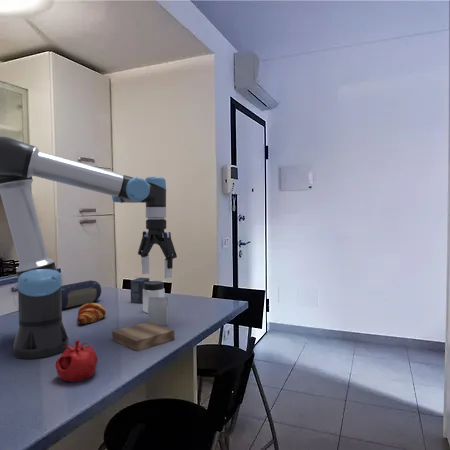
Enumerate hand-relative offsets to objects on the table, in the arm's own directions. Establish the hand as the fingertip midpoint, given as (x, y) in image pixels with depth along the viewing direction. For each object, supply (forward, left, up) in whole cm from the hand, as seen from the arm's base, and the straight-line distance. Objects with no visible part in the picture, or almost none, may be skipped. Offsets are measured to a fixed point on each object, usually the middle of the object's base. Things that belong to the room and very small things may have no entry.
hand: (156, 275), depth 142 cm
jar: (+9, +15, -18) cm, 25 cm away
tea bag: (-1, -2, -18) cm, 18 cm away
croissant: (-14, +23, -18) cm, 32 cm away
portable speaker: (-9, +49, -18) cm, 53 cm away
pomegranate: (-42, -24, -18) cm, 52 cm away
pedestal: (-15, -13, -18) cm, 27 cm away
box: (+15, +34, -18) cm, 41 cm away
